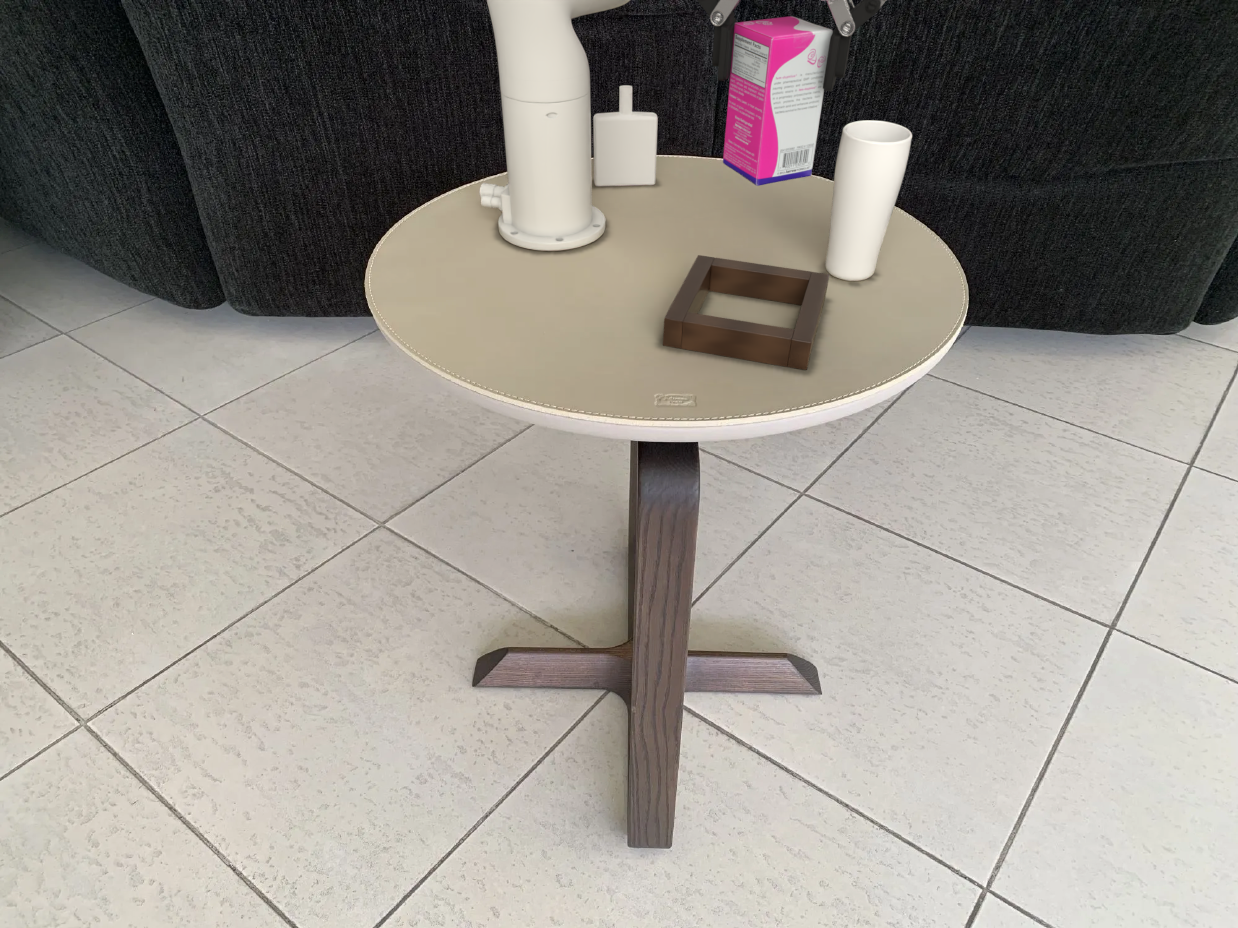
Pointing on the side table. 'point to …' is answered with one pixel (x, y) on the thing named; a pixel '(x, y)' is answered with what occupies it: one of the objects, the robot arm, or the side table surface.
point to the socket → (742, 336)
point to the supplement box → (775, 98)
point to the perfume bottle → (625, 145)
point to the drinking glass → (864, 195)
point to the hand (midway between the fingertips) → (776, 80)
